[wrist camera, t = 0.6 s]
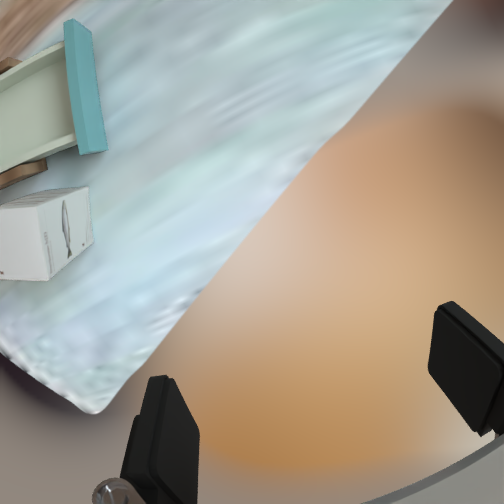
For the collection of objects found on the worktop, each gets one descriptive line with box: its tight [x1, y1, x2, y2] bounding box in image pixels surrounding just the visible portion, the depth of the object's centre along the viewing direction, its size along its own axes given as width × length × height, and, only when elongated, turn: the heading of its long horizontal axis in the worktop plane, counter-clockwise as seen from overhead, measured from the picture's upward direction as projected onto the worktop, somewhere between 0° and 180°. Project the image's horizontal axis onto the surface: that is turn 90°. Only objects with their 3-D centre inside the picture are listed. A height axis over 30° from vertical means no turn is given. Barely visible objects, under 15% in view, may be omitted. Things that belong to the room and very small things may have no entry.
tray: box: [0, 19, 108, 175], centre depth 27 cm, size 19×16×5 cm
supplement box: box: [0, 186, 94, 281], centre depth 29 cm, size 7×7×13 cm
